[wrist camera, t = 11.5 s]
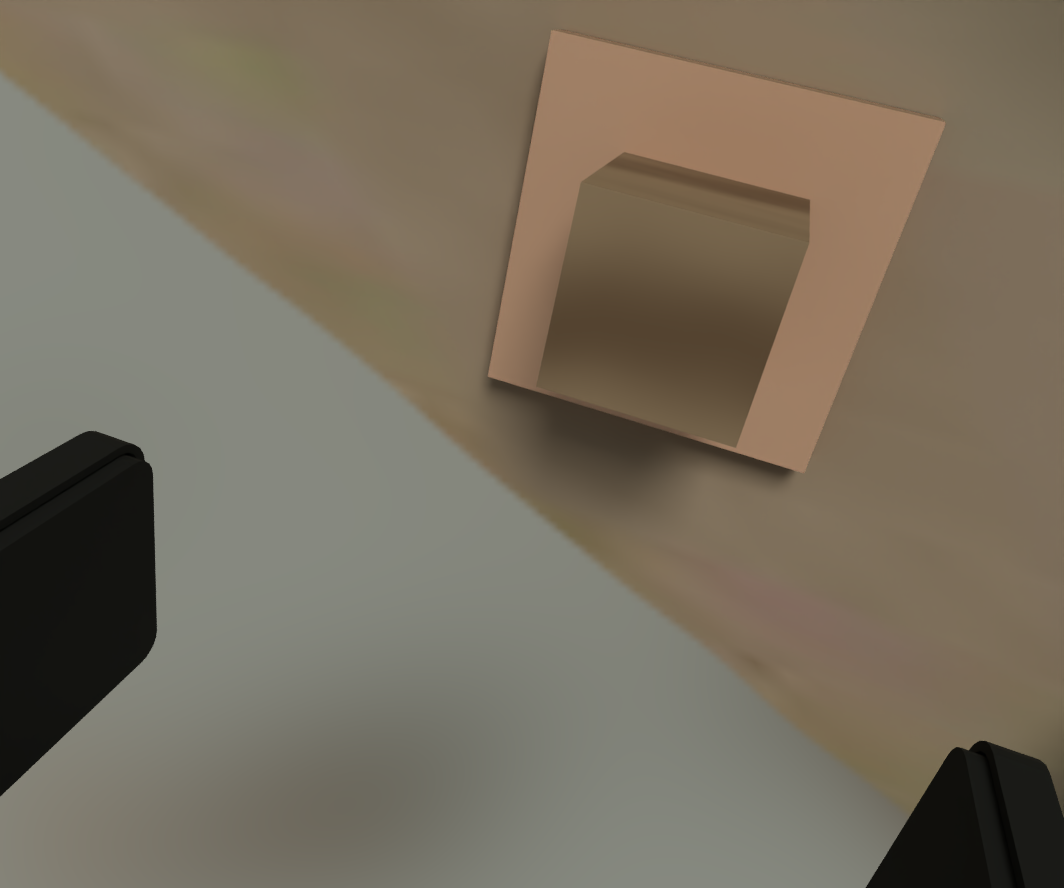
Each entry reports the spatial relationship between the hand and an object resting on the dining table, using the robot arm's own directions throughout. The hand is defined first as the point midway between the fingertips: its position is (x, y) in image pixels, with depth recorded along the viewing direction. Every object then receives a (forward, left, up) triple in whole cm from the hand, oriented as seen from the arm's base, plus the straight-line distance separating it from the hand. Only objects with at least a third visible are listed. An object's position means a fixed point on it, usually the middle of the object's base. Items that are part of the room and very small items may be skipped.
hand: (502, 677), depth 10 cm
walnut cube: (0, 0, -19) cm, 19 cm away
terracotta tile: (0, 0, -20) cm, 20 cm away
